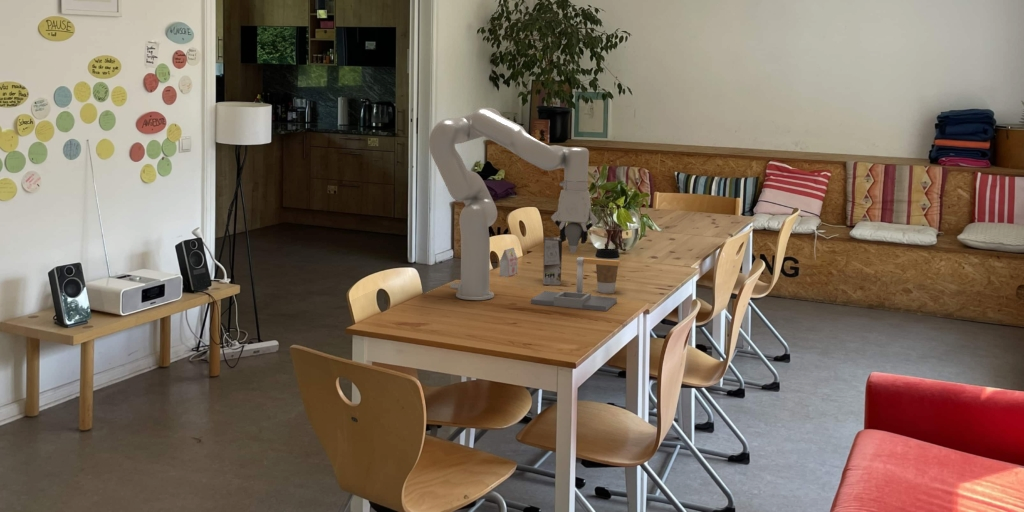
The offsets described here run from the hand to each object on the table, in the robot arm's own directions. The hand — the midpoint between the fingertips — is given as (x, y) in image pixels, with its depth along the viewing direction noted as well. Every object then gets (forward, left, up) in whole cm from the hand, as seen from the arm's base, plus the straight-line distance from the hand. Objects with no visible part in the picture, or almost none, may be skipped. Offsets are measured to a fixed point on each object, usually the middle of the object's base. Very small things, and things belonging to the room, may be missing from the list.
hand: (573, 241), depth 305 cm
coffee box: (-17, +31, -21) cm, 41 cm away
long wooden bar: (+6, +8, -8) cm, 13 cm away
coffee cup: (+5, +24, -21) cm, 32 cm away
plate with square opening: (0, +2, -21) cm, 21 cm away
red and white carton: (-36, +37, -21) cm, 55 cm away
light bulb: (0, 0, -4) cm, 4 cm away
